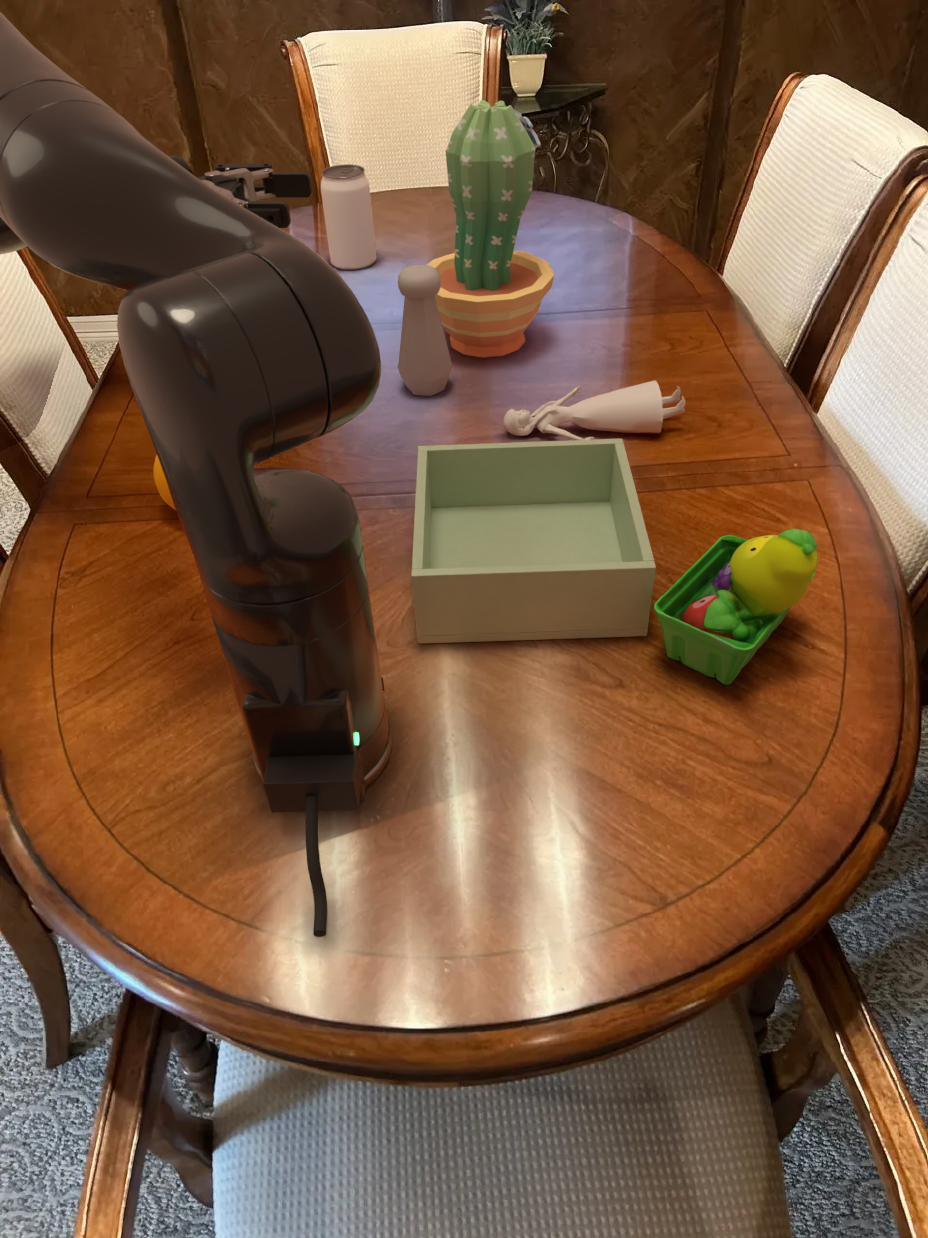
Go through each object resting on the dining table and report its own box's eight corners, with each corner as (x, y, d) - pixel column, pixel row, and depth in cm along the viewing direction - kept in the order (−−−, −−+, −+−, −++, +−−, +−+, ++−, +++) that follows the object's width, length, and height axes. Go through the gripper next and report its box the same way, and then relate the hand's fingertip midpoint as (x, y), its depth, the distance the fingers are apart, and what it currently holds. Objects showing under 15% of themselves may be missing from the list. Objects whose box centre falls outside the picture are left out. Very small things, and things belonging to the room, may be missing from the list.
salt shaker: (446, 401, 98) (439, 281, 89) (394, 398, 99) (383, 279, 90) (457, 376, 102) (452, 259, 93) (407, 372, 103) (398, 257, 94)
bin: (647, 636, 70) (656, 567, 65) (417, 643, 70) (411, 575, 66) (616, 503, 83) (622, 438, 78) (423, 510, 83) (418, 445, 79)
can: (323, 269, 127) (310, 176, 119) (341, 251, 131) (330, 161, 123) (366, 272, 125) (356, 179, 117) (383, 255, 130) (374, 164, 122)
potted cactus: (575, 353, 105) (587, 111, 88) (450, 381, 101) (437, 134, 84) (519, 303, 116) (521, 79, 99) (404, 326, 112) (385, 97, 95)
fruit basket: (715, 580, 75) (738, 462, 67) (819, 625, 70) (857, 504, 63) (642, 659, 68) (658, 538, 61) (752, 713, 64) (784, 590, 56)
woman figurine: (697, 411, 85) (506, 433, 86) (694, 452, 88) (509, 473, 89) (671, 354, 94) (497, 375, 95) (669, 393, 97) (500, 413, 98)
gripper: (99, 181, 83) (274, 181, 81) (156, 136, 93) (312, 135, 91) (123, 264, 88) (288, 266, 86) (174, 212, 98) (322, 213, 96)
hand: (300, 198), depth 89 cm, fingers open, 8 cm apart
